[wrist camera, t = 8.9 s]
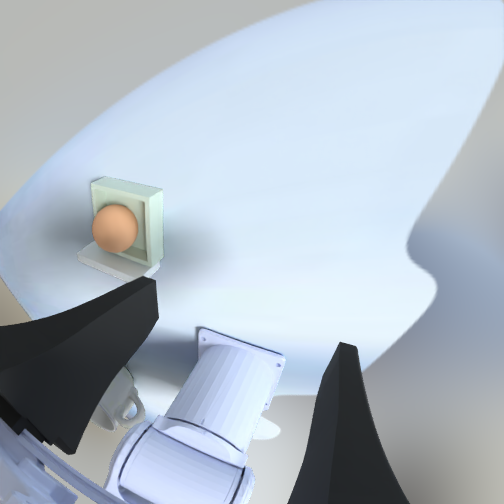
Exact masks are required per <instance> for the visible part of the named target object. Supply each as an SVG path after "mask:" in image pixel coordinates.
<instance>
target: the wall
mask: <svg viewBox="0 0 504 504" xmlns="http://www.w3.org/2000/svg"><path fill="white" fill-rule="evenodd" d="M77 257H78V261H80V262H82V263H84V264H86V265H88V266H91V267H93V268H95V269H97V270H100V271H102V272H104V273H106V274H109V275H111V276H113V277H116V278H118V279H120V280H123V281H125V282H127V283H128V282H130V281H133V280H135V279H137V278H139V277H141V276H145V277H148V278H150V277H151V276H152V275H153V274H154V273H155V272H156V271H157V270H158V269H159V268H160V261H159V262H158V263H157V264H156V265H155V266H154V267H152V268H151V267H149V266H146V265H143V264H141V263H138V262H135V261H133V260H130V259H127V258H125V257H122V256H119V255H117V254H114V253H112V252H107V251H105V250H103V249H101V248H99V247H98V244H97V243H96V242H95V240H94V241H93V242H91V243H90V244H89V245H87V246H86V247H84V248H83V249H82V250H80V251H79V252H78V253H77Z"/></svg>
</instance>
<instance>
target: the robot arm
mask: <svg viewBox="0 0 504 504" xmlns="http://www.w3.org/2000/svg"><path fill="white" fill-rule="evenodd" d="M158 318H159V314H158V303H157V291H156V280H153V279H150V278H148V277H145V276H141V277H139V278H137V279H135V280H133V281H130V282H128V283H126V284H124V285H122V286H120V287H118V288H116V289H114V290H112V291H110V292H108V293H106V294H104V295H102V296H100V297H98V298H95V299H93V300H91V301H88V302H86V303H84V304H82V305H79V306H77V307H75V308H72V309H70V310H67V311H64V312H61V313H58V314H55V315H52V316H49V317H45V318H42V319H38V320H34V321H30V322H26V323H20V324H14V325H8V326H0V498H1V500H0V504H74V503H75V501H76V500H77V498H78V496H77V495H76V494H74V493H73V492H72V491H71V490H69V489H68V488H67V487H66V486H64V485H63V484H62V483H60V482H59V481H58V480H56V479H55V478H53V477H52V476H51V475H49V474H48V473H47V472H45V469H44V464H45V465H46V466H47V467H48V468H50V469H51V470H52V471H53V472H55V473H56V474H57V475H58V476H60V477H61V478H62V479H64V480H65V481H66V482H68V483H69V484H70V485H72V486H73V487H74V488H76V489H77V490H79V491H80V492H81V493H83V494H84V495H86V496H87V497H89V498H90V499H92V500H93V501H95V502H96V503H98V504H247V503H248V501H249V499H250V496H251V493H252V491H253V487H254V483H255V476H254V474H253V471H252V469H251V468H250V467H248V466H245V463H246V461H247V458H248V455H246V454H245V453H246V451H247V448H248V446H249V444H250V441H251V439H252V436H253V434H254V431H255V429H256V426H257V424H258V421H259V419H260V416H261V414H262V411H263V410H268V408H269V405H270V403H271V400H272V397H273V395H274V392H275V389H276V387H277V384H278V381H279V378H280V376H281V373H282V370H283V367H284V365H285V362H286V358H285V357H284V356H282V355H279V354H276V353H273V352H270V351H267V350H264V349H261V348H258V347H255V346H252V345H249V344H246V343H243V342H240V341H237V340H234V339H231V338H229V337H226V336H223V335H220V334H218V333H215V332H212V331H209V330H207V329H200V331H199V334H198V362H197V364H196V366H195V367H194V369H193V370H192V372H191V374H190V375H189V377H188V379H187V380H186V382H185V383H184V385H183V387H182V388H181V390H180V392H179V393H178V395H177V396H176V398H175V400H174V401H173V403H172V404H171V406H170V408H169V409H168V411H167V412H166V414H165V416H164V417H163V416H161V415H158V417H157V418H156V420H155V421H154V423H152V422H150V421H143V422H141V423H137V424H135V425H134V426H133V427H132V428H131V429H130V430H129V431H128V432H127V433H126V434H125V436H124V437H123V439H122V440H121V442H120V443H119V445H118V447H117V448H116V450H115V452H114V454H113V457H112V459H111V462H110V466H109V473H108V476H107V479H106V482H105V484H104V487H103V488H102V487H100V486H98V485H97V484H95V483H94V482H92V481H91V480H89V479H88V478H86V477H85V476H84V475H82V474H81V473H79V472H78V471H77V470H75V469H74V468H72V467H71V466H70V465H68V464H67V463H66V462H64V461H63V460H62V459H60V458H59V457H58V456H57V455H55V454H54V453H53V452H51V451H50V450H49V449H48V448H47V447H46V446H44V445H43V444H42V443H43V441H45V442H47V443H48V444H49V445H52V444H54V445H55V446H57V447H58V448H59V449H61V450H62V451H63V452H64V453H66V454H68V455H70V454H75V452H76V449H77V447H78V445H79V442H80V440H81V438H82V435H83V433H84V431H85V428H86V427H87V425H88V423H89V421H90V419H91V417H92V415H93V413H94V411H95V409H96V407H97V405H98V404H99V402H100V400H101V398H102V397H103V395H104V393H105V392H106V390H107V389H108V387H109V385H110V384H111V382H112V381H113V379H114V378H115V377H116V375H117V374H118V373H119V371H120V370H121V369H122V368H123V367H124V365H125V364H126V363H127V362H128V360H129V359H130V358H131V357H132V355H133V354H134V353H135V352H136V351H137V349H138V348H139V347H140V346H141V344H142V343H143V342H144V341H145V339H146V338H147V337H148V335H149V333H150V332H151V330H152V329H153V327H154V325H155V323H156V322H157V320H158ZM278 363H279V364H278ZM43 463H44V464H43ZM287 504H410V503H409V501H408V500H407V498H406V496H405V495H404V493H403V491H402V489H401V487H400V485H399V483H398V481H397V479H396V477H395V475H394V473H393V471H392V469H391V467H390V465H389V463H388V460H387V457H386V455H385V452H384V450H383V448H382V445H381V442H380V439H379V437H378V434H377V431H376V428H375V425H374V421H373V418H372V415H371V411H370V407H369V404H368V399H367V395H366V391H365V387H364V383H363V378H362V373H361V367H360V362H359V356H358V349H357V347H356V346H353V345H350V344H346V343H343V342H339V345H338V347H337V349H336V351H335V353H334V355H333V357H332V359H331V361H330V363H329V365H328V367H327V368H326V370H325V372H324V374H323V377H322V380H321V384H320V387H319V391H318V394H317V398H316V402H315V408H314V413H313V418H312V424H311V429H310V435H309V439H308V444H307V449H306V453H305V456H304V460H303V463H302V466H301V469H300V472H299V475H298V478H297V480H296V483H295V486H294V488H293V491H292V493H291V496H290V499H289V501H288V503H287Z"/></svg>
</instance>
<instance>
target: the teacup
mask: <svg viewBox="0 0 504 504" xmlns="http://www.w3.org/2000/svg"><path fill="white" fill-rule="evenodd" d="M134 403H135V405H136V407H137V414H136V415H135V416H134V417H133V418H131V419H128V420H126V419H124V417H125V416H126V415H127V413H128V412H129V411H130V409H131V408H132V406H133V404H134ZM144 419H145V409H144V406H143V404H142V402H141V400H140V399H139V397H138V391H137V389H136V388H135V387H134V382H133V378H132V376H131V374H130V373H129V371H128V370H127V369H126V367H125V366H124V367H123V368H122V369H121V370H120V371H119V373H118V374H117V375H116V377H115V378H114V379H113V381H112V382H111V384H110V385H109V387H108V389H107V390H106V392H105V393H104V395H103V397H102V398H101V400H100V402H99V404H98V405H97V407H96V409H95V411H94V413H93V415H92V417H91V419H90V421H91V422H92V423H94V424H95V425H97V426H98V427H100V428H102V429H104V430H106V431H109V432H114V431H116V429H117V426H118V425H119V424H120V425H121V426H122V427H124V428H127V429H131V428H132V427H133V426H134V425H135V424H137V423H141V422H143V421H144Z"/></svg>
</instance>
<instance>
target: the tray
mask: <svg viewBox="0 0 504 504" xmlns="http://www.w3.org/2000/svg"><path fill="white" fill-rule="evenodd" d="M91 192H92V203H93V212H94V218H95V216H96V215H97V213H98V212H99V211H100V210H101V209H103V208H104V207H106V206H108V205H113V204H118V205H123V206H125V207H127V208H128V209H130V210H131V211H132V212H133V213H134V215H135V217H136V219H137V222H138V234H137V237H136V240H135V241H134V243H133V244H132V245H131V246H130V247H129V248H128V249H126V250H125V251H122V252H118V253H114V254H117V255H119V256H122V257H125V258H127V259H130V260H133V261H135V262H138V263H141V264H143V265H146V266H149V267H151V268H152V267H154V266H155V265H156V264H157V263H158V262H159V261H160V260H161V259H162V258H163V257H164V250H163V189H159V188H155V187H150V186H146V185H142V184H137V183H133V182H128V181H124V180H119V179H115V178H110V177H106V176H105V177H103V178H101V179H99V180H97V181H94V182H92V183H91ZM98 247H99V246H98ZM99 248H101V247H99ZM101 249H102V248H101Z"/></svg>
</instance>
